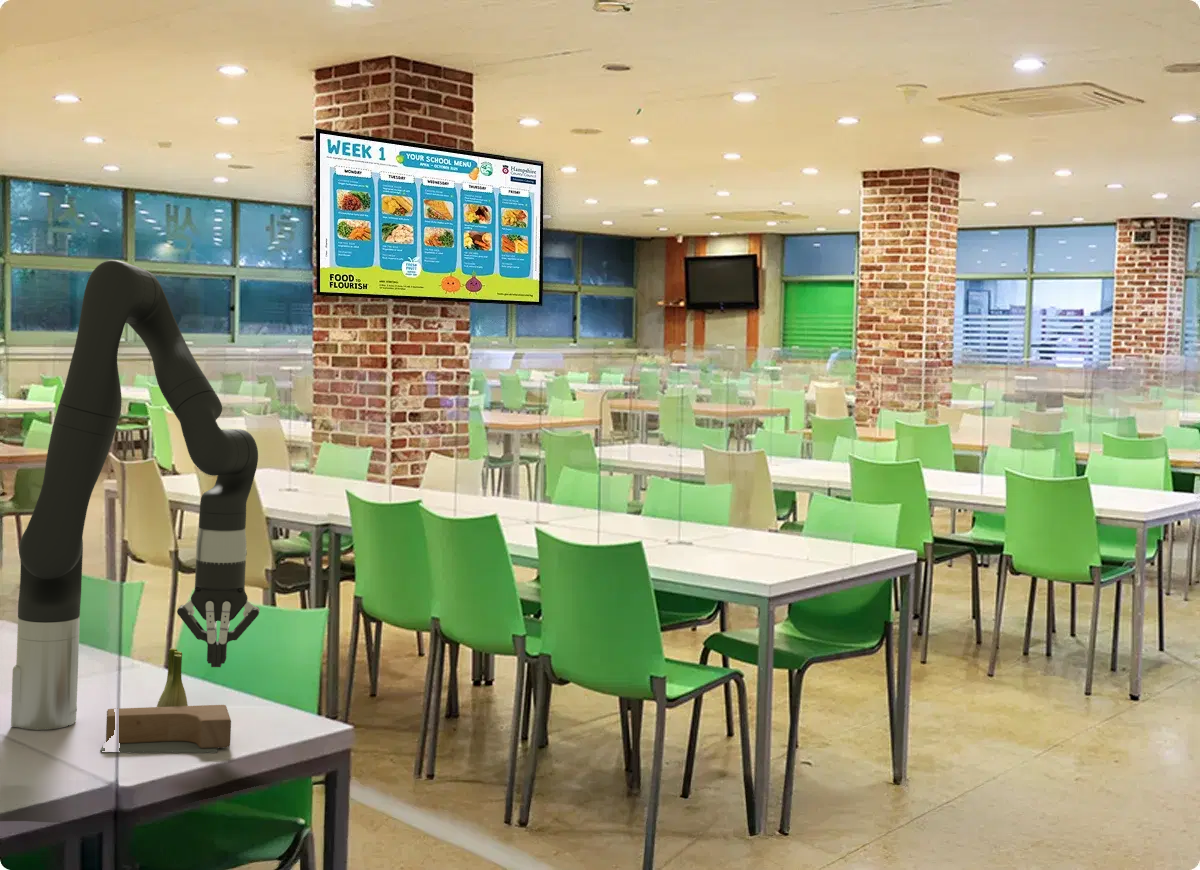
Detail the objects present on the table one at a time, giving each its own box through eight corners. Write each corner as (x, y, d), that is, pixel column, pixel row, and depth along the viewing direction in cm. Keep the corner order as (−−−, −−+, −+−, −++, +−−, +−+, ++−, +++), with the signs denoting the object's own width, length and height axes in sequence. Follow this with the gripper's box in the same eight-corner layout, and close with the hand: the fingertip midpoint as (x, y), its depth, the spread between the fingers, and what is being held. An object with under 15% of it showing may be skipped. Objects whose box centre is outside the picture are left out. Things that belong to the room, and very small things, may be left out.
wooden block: (231, 719, 207) (107, 724, 201) (230, 748, 208) (106, 753, 201) (226, 703, 216) (106, 708, 210) (225, 731, 216) (105, 736, 210)
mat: (100, 752, 203) (100, 750, 203) (113, 729, 215) (113, 727, 215) (216, 752, 206) (216, 750, 206) (223, 730, 218) (223, 727, 218)
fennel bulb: (181, 727, 219) (184, 654, 218) (150, 725, 219) (153, 652, 218) (191, 717, 224) (194, 646, 224) (161, 715, 224) (164, 644, 224)
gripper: (174, 559, 205) (169, 671, 206) (263, 561, 208) (258, 672, 209) (179, 551, 213) (175, 660, 214) (265, 554, 215) (261, 661, 216)
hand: (216, 666), depth 211 cm, fingers closed
